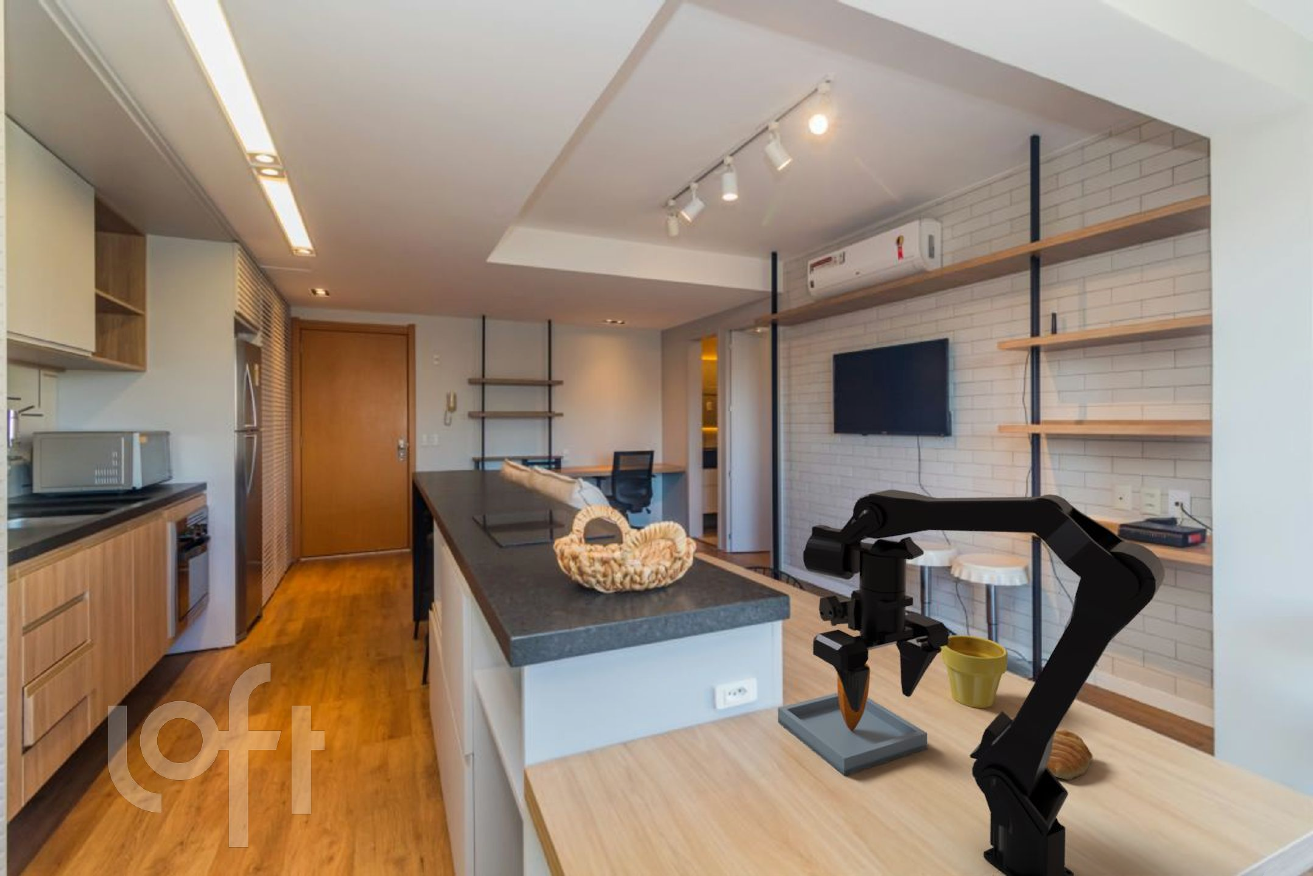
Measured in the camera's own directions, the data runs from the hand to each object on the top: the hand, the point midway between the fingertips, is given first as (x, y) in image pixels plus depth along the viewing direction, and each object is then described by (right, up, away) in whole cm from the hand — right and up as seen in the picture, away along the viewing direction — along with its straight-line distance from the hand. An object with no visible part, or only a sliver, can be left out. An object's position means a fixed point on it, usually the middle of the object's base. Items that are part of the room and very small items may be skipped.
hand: (881, 702), depth 79 cm
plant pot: (+27, -12, +27) cm, 40 cm away
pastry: (+30, -13, +8) cm, 33 cm away
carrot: (+1, -12, +16) cm, 20 cm away
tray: (+1, -12, +16) cm, 20 cm away
